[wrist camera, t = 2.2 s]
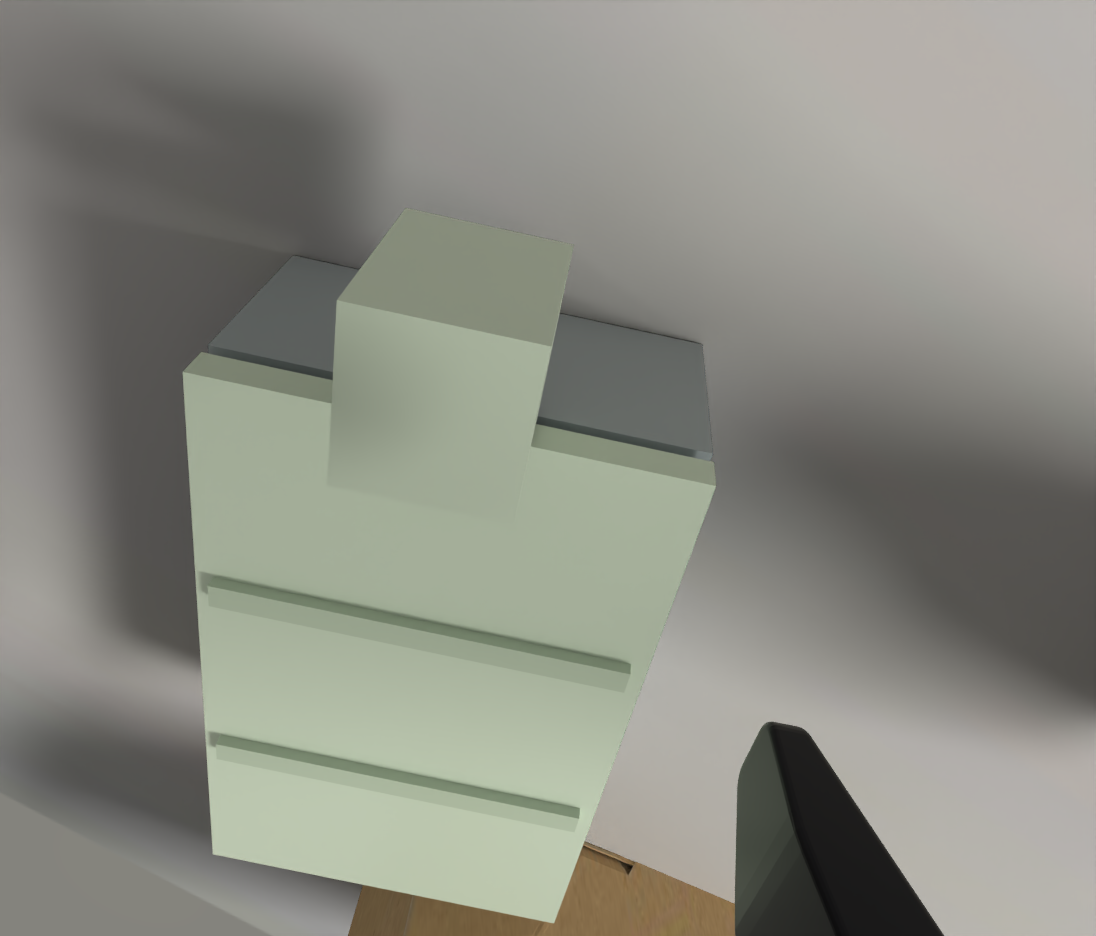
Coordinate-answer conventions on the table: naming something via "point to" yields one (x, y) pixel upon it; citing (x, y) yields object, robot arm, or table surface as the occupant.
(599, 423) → the tub
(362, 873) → the lid
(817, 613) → the table surface
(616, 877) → the sandwich container
